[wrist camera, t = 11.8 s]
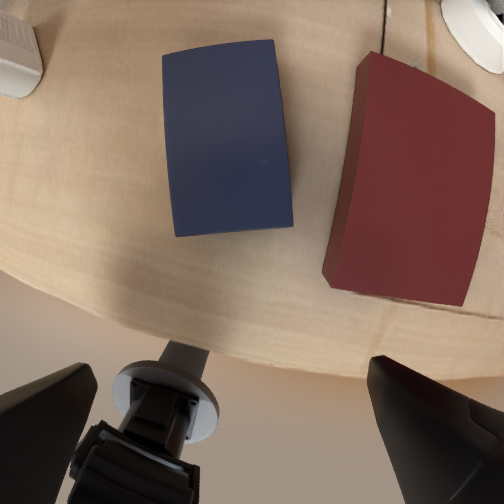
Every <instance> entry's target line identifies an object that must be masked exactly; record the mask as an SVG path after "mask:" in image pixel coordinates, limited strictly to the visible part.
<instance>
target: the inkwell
mask: <svg viewBox="0 0 504 504" xmlns="http://www.w3.org/2000/svg"><path fill="white" fill-rule="evenodd" d="M441 9H442V15H443V19H444V21H445V23H446V25H447V27H448V29H449V31H450V33H451V35H452V36H453V37H454V38H455V40H456V41H457V42H458V44H459V45H460V47H461V48H462V49H463V50H464V51H465V52H466V53H467V54H468V55H469V56H470V57H471V58H472V60H473V61H474V62H475V63H477V64H478V65H480V66H481V67H483V68H484V69H486V70H487V71H489V72H492V73H497V74H502V73H503V72H504V0H443V1H442V3H441Z"/></svg>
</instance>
